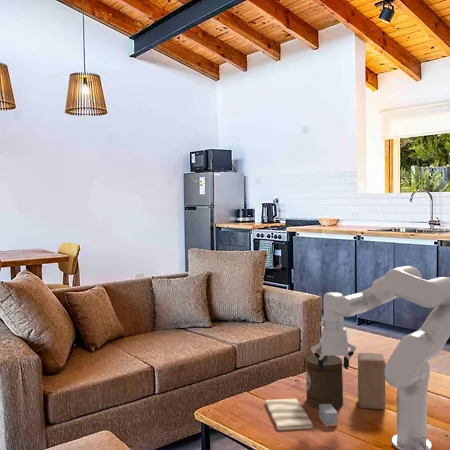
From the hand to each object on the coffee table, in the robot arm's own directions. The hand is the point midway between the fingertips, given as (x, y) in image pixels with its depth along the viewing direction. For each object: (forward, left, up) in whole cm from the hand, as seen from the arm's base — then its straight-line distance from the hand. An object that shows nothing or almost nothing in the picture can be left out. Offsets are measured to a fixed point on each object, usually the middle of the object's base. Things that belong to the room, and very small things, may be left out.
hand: (333, 368), depth 192 cm
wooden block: (+8, -19, -19) cm, 28 cm away
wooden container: (+13, -1, -19) cm, 23 cm away
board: (+3, +17, -19) cm, 26 cm away
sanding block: (-4, +3, -19) cm, 19 cm away
